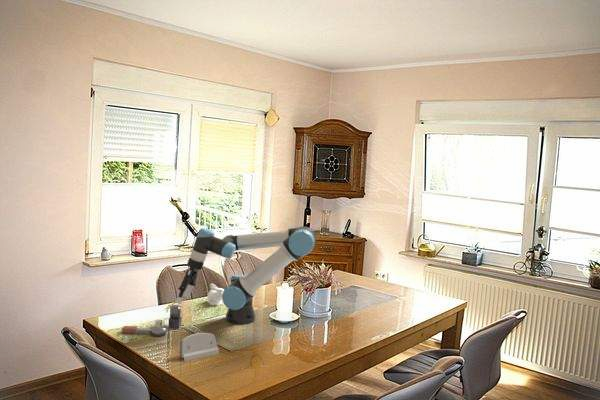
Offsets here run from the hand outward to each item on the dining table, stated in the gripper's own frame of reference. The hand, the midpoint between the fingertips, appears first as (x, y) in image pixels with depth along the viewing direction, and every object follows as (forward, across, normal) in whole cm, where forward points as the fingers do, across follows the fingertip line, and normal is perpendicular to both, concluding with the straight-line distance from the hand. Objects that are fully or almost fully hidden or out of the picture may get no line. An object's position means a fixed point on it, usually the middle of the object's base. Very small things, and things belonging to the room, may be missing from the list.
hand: (182, 300), depth 257 cm
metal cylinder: (+13, +2, +1) cm, 13 cm away
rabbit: (+7, -39, +10) cm, 41 cm away
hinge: (+10, +32, +21) cm, 40 cm away
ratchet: (+17, +14, -9) cm, 23 cm away
